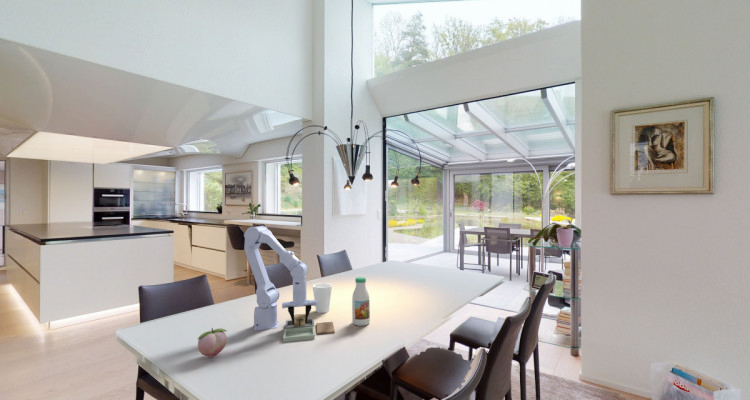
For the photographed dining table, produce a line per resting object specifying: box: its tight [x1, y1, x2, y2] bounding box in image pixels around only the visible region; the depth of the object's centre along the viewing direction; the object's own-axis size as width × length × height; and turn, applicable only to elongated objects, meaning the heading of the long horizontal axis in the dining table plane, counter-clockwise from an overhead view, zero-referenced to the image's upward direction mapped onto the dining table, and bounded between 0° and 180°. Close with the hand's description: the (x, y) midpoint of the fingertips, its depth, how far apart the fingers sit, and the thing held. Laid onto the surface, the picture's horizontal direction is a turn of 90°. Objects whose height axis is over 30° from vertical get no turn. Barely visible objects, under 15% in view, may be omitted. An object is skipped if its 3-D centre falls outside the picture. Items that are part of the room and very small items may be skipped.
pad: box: [316, 321, 336, 336], centre depth 134 cm, size 7×11×1 cm, turn 12°
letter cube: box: [294, 313, 306, 327], centre depth 137 cm, size 4×5×4 cm
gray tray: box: [284, 317, 315, 330], centre depth 137 cm, size 12×9×2 cm
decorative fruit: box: [197, 327, 228, 358], centre depth 111 cm, size 9×8×10 cm
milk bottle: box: [351, 276, 371, 327], centre depth 141 cm, size 8×8×20 cm
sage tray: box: [282, 326, 316, 343], centre depth 127 cm, size 12×9×2 cm
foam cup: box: [312, 282, 333, 314], centre depth 157 cm, size 10×9×13 cm
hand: (299, 323), depth 137 cm, fingers closed on letter cube, 4 cm apart
